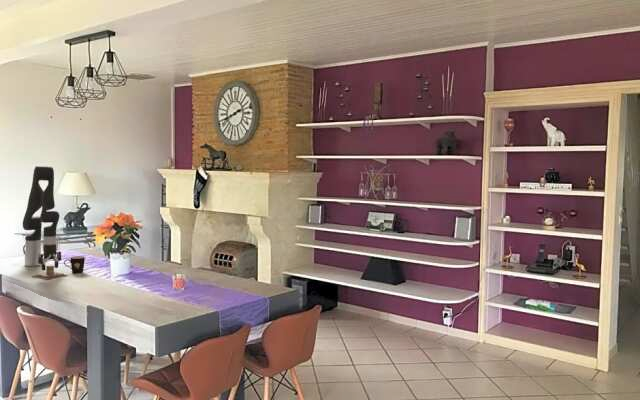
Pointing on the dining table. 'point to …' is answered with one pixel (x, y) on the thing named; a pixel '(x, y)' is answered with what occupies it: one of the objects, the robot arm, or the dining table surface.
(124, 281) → the dining table surface
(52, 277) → the mat
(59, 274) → the lid
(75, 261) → the coffee mug
